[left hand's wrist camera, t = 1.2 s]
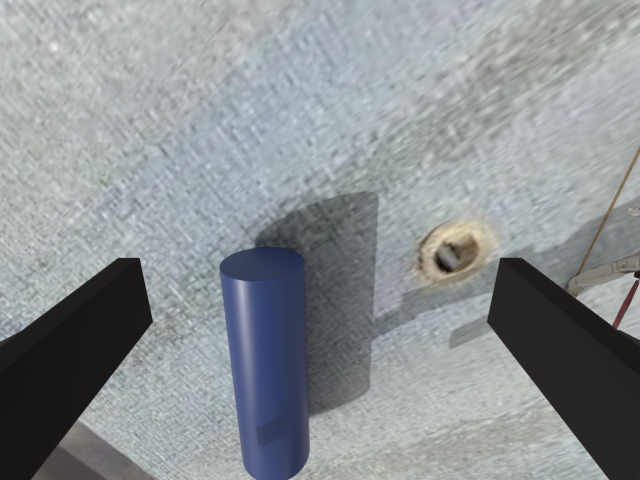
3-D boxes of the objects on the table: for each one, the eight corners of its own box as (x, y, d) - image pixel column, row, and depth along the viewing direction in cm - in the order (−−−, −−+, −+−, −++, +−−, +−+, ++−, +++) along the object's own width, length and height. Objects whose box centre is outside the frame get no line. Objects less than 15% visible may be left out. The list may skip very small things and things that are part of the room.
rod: (230, 247, 40) (208, 281, 32) (305, 246, 40) (303, 280, 32) (249, 422, 50) (236, 484, 41) (310, 421, 50) (309, 482, 41)
